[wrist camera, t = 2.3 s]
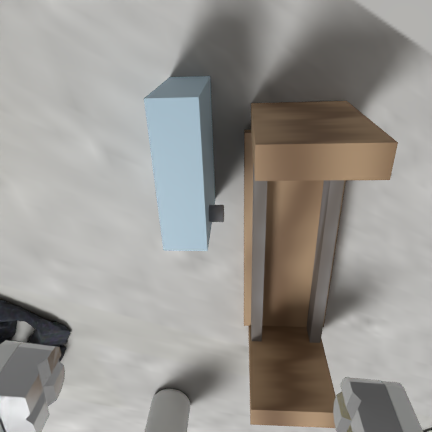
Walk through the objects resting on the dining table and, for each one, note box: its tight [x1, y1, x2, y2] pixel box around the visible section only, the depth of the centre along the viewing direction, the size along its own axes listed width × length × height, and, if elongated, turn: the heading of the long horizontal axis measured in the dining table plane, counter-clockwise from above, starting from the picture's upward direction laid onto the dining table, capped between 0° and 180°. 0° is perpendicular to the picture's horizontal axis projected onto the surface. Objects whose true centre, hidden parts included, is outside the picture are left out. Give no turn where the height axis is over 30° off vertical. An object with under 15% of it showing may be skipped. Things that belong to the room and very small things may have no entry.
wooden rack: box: [244, 101, 398, 428], centre depth 28 cm, size 8×24×10 cm, turn 2°
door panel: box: [144, 76, 224, 251], centre depth 25 cm, size 4×10×8 cm, turn 2°
